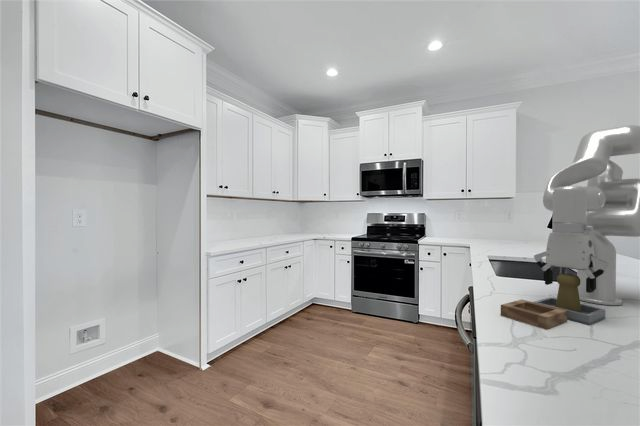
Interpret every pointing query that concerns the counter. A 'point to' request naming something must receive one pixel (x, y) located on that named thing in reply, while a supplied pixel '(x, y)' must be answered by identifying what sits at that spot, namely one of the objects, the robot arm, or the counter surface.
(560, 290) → the cork
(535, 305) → the socket block
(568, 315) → the tray
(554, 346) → the counter surface
